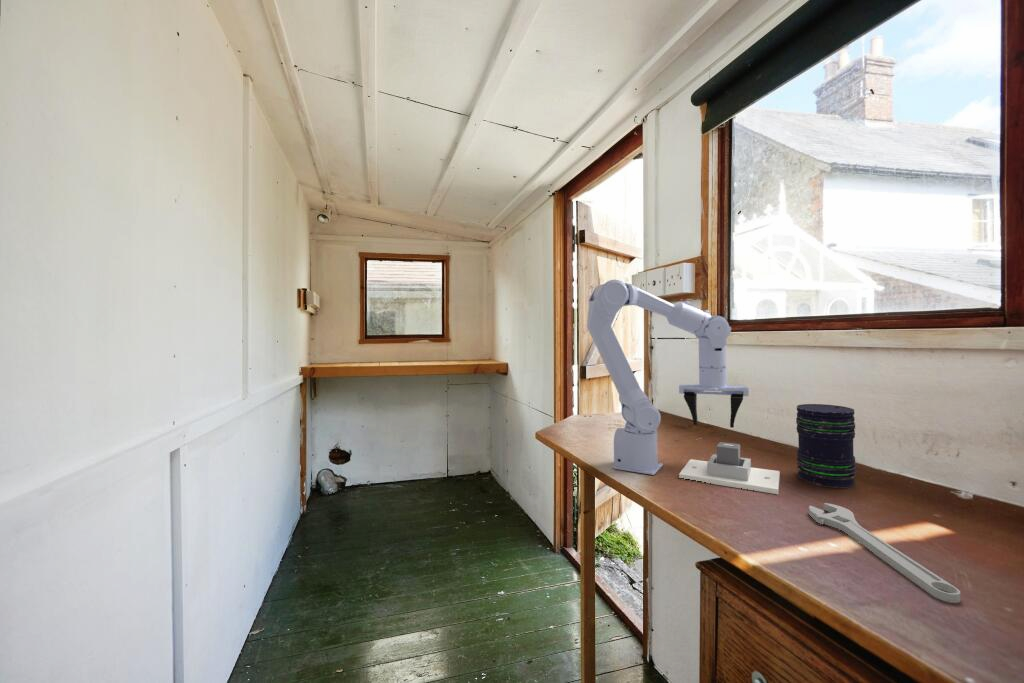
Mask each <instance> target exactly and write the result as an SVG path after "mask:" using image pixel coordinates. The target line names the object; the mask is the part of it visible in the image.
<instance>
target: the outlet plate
mask: <svg viewBox="0 0 1024 683" xmlns="http://www.w3.org/2000/svg"><path fill="white" fill-rule="evenodd" d="M780 476H781V475H780V470H772V469H767V468H759V467H752V462H751V458H748V457H745V458H744V457H740V466H735V465H727V464H720V463H717V454H716V453H715V454H714V453H713V454H712V455H711V456H710V458H709V460H708V461H705V460H701V459H700V460H699V459H689V460H688V461H687V463H686V464H685V466H684V467H682V469H681V471H680V472H679V474H678V478H684V479H683V480H685V479H690V480H689V481H691V480H696V481H695V482H697V481H702V482H701V483H704V482H706V483H705V484H710V483H711V484H710V485H717V486H723V487H730V488H737V489H741V488H742V489H743V490H747V489H748V491H753V490H754V491H756V492H760V493H766V494H772V495H779V491H780V490H779V488H780Z"/></svg>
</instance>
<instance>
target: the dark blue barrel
mask: <svg viewBox="0 0 1024 683" xmlns="http://www.w3.org/2000/svg"><path fill="white" fill-rule="evenodd" d="M796 411H797V412H796V420H795V421H796V423H795V424H796V428H795V429H796V433H797V434H798V439H797V440H798V449H797V453H796V465H797V470H798V471H797V477H798V479H800V480H801V479H802V480H801V481H803V480H804V482H806V483H808V482H809V483H808V484H811V483H813V484H812V485H815V484H816V486H820V487H825V488H826V487H827V488H833V489H835V488H836V489H848V488H853V487H855V486H856V480H855V477H856V474H855V473H857V472H856V471H857V470H856V469H857V466H856V457H855V456H854V439H855V437H856V436H855V435H856V432H855V431H856V422H855V416H854V415H855V409H854V408H852V407H847V406H843V405H835V404H822V403H821V404H820V403H817V404H816V403H805V404H798V405H796Z"/></svg>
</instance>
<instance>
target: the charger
mask: <svg viewBox="0 0 1024 683" xmlns="http://www.w3.org/2000/svg"><path fill="white" fill-rule="evenodd" d="M716 455H717V463H720V464H727V465H735V466H740V458H741V444H739V443H731V442H722V441H719V442H718V443H717V445H716Z"/></svg>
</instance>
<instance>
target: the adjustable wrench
mask: <svg viewBox="0 0 1024 683" xmlns="http://www.w3.org/2000/svg"><path fill="white" fill-rule="evenodd" d="M824 510H826V511H828V512H827V513H825V512H826V511H824ZM829 512H831V513H829ZM808 515H810V516H811V517H812V518H814V519H815V520H816V521H815V520H814V521H815V523H816V522H818V523H820V524H819V525H821V524H822V526H823V524H826V525H829V526H833V527H835V528H838V529H839V530H838V529H837V530H838V531H840V530H842V531H844V532H845V533H844V532H843V533H844V534H846V533H847V534H848V535H847V534H846V535H847V536H849V537H850V536H851V537H850V538H852V539H853V538H854V539H855V540H854V539H853V540H854V541H856V540H857V541H858V542H860V543H861V544H863V545H864V546H866V547H867V548H868V549H869V550H868V549H867V548H866V549H867V550H868V551H870V552H871V551H872V552H873V555H875V556H876V557H878V558H879V559H881V561H884V562H885V563H886V564H888V565H889V566H890V567H892V568H894V569H895V570H896V571H898V572H899V573H900V574H901V575H903V576H904V577H905V578H907V579H908V580H910V581H911V582H913V583H914V584H915V585H917V586H919V587H920V588H921V589H922V590H923V591H926V593H928V594H929V595H931V596H932V597H934V598H936V599H938V600H940V601H943V602H947V603H952V604H959V603H961V590H960V589H958V588H957V587H956V586H954V585H953V584H951V583H949V581H946V580H945V579H944V578H942V577H941V576H938V575H937V574H935V573H934V572H933V571H931V570H929V569H927V568H926V567H924V566H923V565H922V564H920V563H919V562H917V561H915V560H914V559H913V558H910V557H909V556H908V555H906V554H904V553H903V552H901V551H900V550H898V549H897V548H895V547H893V546H892V545H891V544H889V543H887V542H886V541H884V540H883V539H881V538H879V537H878V536H877V535H875V534H874V533H871V532H870V531H868V530H867V529H865V528H864V527H863V526H862V525H860V524H859V522H857V520H856V518H855V515H854V512H852V511H851V510H850V509H848V508H846V507H844V506H840V505H837V504H834V503H827V502H823V509H821V508H818V507H816V506H813V505H808ZM810 516H809V517H810ZM811 517H810V518H811ZM812 518H811V519H812ZM826 525H825V526H826ZM829 526H828V527H829ZM835 528H834V529H835ZM842 531H841V532H842ZM857 541H856V542H857ZM858 542H857V543H858ZM860 543H859V544H860ZM861 544H860V545H861ZM863 545H862V546H863ZM864 546H863V547H864ZM872 552H871V553H872Z"/></svg>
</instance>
